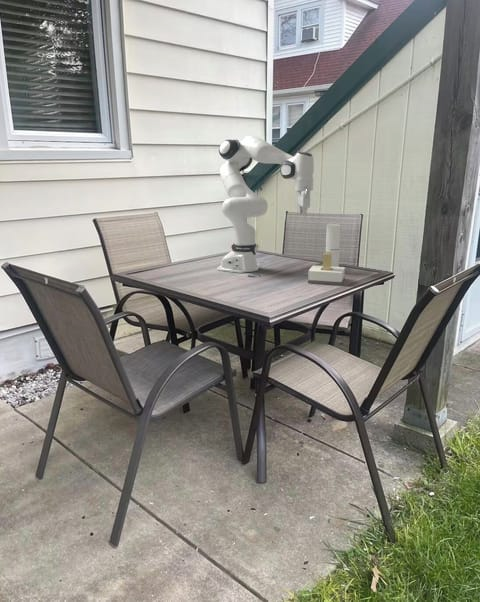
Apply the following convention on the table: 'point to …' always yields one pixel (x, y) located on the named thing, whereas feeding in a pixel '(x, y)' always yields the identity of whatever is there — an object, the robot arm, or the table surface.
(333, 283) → the socket block
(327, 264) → the brass peg
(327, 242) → the cylindrical container
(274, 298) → the table surface
